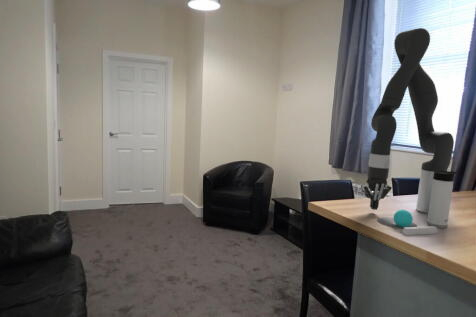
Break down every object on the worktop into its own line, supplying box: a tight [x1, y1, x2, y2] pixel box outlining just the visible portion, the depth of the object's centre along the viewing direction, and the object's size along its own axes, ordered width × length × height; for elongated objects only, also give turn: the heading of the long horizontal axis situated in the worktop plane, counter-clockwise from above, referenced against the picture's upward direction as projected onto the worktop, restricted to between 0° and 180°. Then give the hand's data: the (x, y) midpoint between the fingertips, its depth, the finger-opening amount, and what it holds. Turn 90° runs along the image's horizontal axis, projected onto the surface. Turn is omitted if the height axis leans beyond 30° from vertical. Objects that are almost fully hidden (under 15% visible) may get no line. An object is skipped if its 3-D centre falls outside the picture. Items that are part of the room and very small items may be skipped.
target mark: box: [377, 216, 418, 230], centre depth 122 cm, size 13×13×1 cm
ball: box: [393, 209, 414, 227], centre depth 117 cm, size 6×6×6 cm
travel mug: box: [426, 170, 457, 229], centre depth 120 cm, size 6×7×20 cm
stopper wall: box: [402, 225, 438, 236], centre depth 112 cm, size 12×2×2 cm, turn 106°
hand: (373, 209), depth 134 cm, fingers closed
